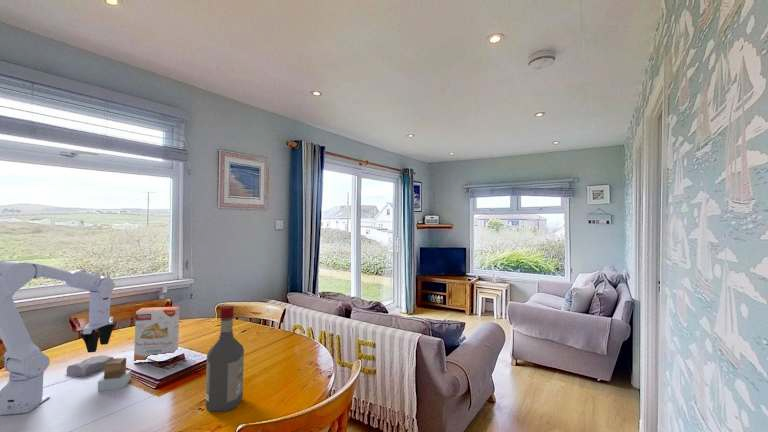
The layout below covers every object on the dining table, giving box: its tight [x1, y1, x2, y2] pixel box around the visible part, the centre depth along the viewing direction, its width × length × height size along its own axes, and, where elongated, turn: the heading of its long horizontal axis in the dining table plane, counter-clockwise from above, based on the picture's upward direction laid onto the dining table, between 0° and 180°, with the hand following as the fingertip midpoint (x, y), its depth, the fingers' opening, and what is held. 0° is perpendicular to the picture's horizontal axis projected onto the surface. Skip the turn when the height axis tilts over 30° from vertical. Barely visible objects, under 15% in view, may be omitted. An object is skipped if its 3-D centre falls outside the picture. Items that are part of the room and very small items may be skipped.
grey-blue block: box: [97, 369, 132, 392], centre depth 117 cm, size 7×7×4 cm
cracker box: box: [133, 306, 180, 362], centre depth 138 cm, size 14×6×21 cm, turn 105°
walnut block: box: [103, 357, 127, 379], centre depth 117 cm, size 4×4×5 cm
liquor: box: [204, 305, 245, 413], centre depth 106 cm, size 9×9×30 cm
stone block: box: [66, 354, 115, 377], centre depth 128 cm, size 12×5×10 cm
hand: (98, 348), depth 122 cm, fingers open, 7 cm apart
